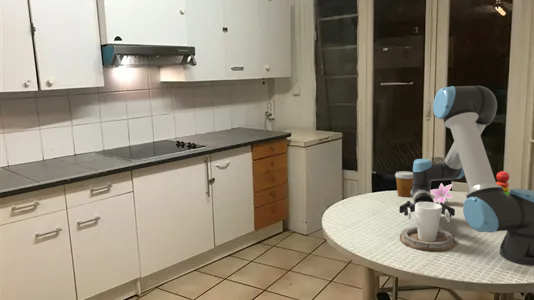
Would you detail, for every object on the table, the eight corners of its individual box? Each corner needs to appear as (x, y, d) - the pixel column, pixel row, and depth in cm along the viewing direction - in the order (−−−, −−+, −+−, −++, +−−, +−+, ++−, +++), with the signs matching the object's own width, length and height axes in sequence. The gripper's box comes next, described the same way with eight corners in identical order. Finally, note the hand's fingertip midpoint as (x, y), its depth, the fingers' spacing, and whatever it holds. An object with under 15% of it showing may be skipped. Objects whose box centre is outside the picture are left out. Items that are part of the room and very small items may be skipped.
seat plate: (467, 244, 161) (468, 238, 160) (429, 255, 152) (429, 249, 151) (425, 228, 178) (425, 222, 178) (388, 237, 169) (388, 231, 169)
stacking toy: (512, 215, 192) (515, 173, 189) (493, 214, 194) (496, 173, 191) (506, 209, 200) (509, 169, 197) (488, 209, 202) (490, 169, 198)
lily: (428, 201, 220) (424, 186, 216) (451, 192, 219) (446, 177, 214) (438, 215, 210) (434, 200, 205) (462, 205, 208) (458, 190, 204)
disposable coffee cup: (416, 194, 228) (417, 172, 226) (408, 198, 221) (409, 175, 219) (399, 192, 234) (400, 170, 232) (391, 195, 227) (391, 173, 225)
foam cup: (437, 244, 159) (438, 210, 156) (411, 240, 163) (412, 207, 161) (442, 236, 166) (443, 203, 164) (417, 232, 171) (418, 200, 169)
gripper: (455, 211, 178) (464, 229, 158) (392, 208, 185) (393, 224, 164) (455, 193, 177) (465, 209, 157) (392, 191, 183) (394, 205, 163)
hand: (428, 217), depth 161 cm, fingers open, 13 cm apart
